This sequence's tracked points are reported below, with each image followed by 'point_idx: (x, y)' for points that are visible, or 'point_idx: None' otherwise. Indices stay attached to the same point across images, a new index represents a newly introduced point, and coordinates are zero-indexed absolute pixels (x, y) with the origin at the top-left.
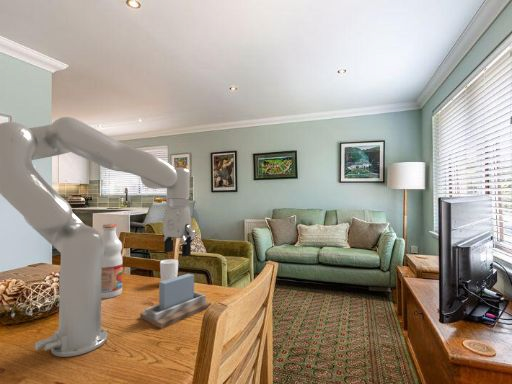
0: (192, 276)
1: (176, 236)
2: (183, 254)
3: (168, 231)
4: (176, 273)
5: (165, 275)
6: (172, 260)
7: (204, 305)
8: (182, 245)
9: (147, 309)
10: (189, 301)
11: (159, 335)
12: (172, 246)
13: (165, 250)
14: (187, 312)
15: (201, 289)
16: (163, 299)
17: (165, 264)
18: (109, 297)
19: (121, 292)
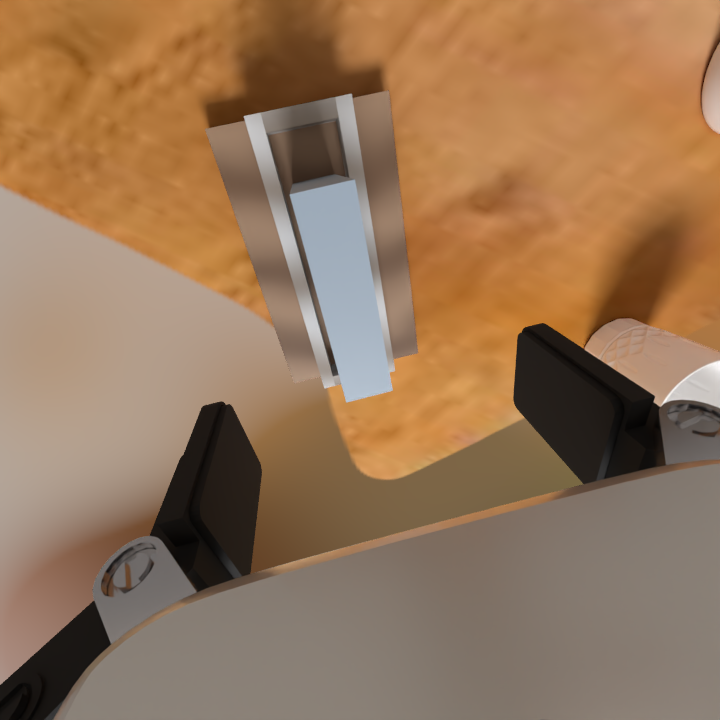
0: (343, 390)
1: (194, 625)
2: (204, 422)
3: (661, 656)
4: None
5: (637, 343)
6: None
7: (284, 355)
8: (177, 505)
9: (336, 103)
10: (304, 313)
11: (149, 93)
12: (543, 430)
13: (537, 336)
14: (259, 276)
15: (459, 410)
16: (301, 185)
17: (687, 369)
18: (717, 46)
19: (712, 128)
